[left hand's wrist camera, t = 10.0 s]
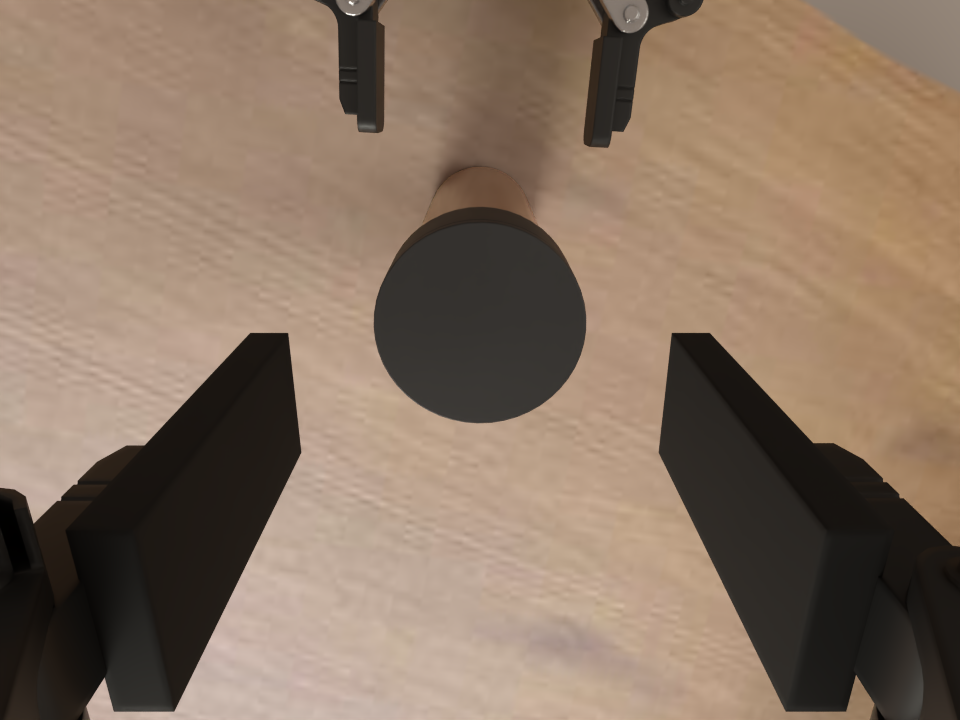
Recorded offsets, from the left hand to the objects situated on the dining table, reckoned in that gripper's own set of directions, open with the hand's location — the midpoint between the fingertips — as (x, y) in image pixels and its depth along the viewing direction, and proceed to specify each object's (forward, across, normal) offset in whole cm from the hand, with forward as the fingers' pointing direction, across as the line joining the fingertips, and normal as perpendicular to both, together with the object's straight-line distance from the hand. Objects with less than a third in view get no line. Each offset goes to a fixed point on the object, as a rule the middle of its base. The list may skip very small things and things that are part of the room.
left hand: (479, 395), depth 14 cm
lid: (+5, 0, 0) cm, 5 cm away
